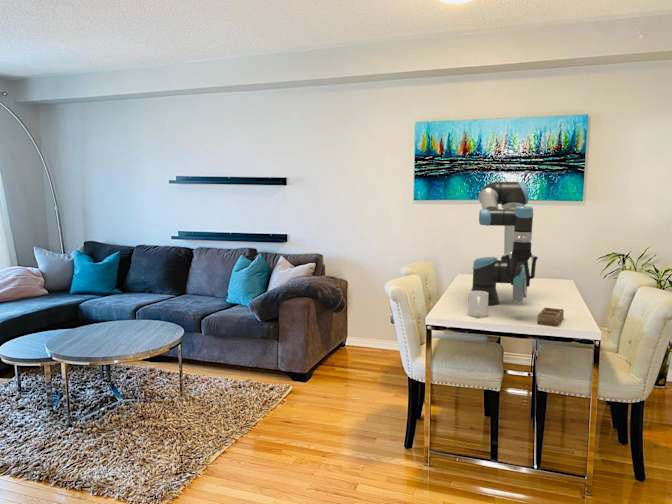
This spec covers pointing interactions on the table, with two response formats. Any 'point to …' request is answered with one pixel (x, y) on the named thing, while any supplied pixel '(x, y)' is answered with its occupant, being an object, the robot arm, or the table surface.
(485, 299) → the mug
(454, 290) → the table surface
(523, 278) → the tall teal block
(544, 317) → the brown wooden frame
